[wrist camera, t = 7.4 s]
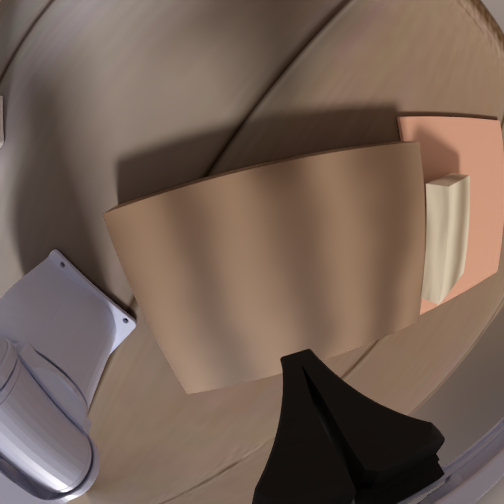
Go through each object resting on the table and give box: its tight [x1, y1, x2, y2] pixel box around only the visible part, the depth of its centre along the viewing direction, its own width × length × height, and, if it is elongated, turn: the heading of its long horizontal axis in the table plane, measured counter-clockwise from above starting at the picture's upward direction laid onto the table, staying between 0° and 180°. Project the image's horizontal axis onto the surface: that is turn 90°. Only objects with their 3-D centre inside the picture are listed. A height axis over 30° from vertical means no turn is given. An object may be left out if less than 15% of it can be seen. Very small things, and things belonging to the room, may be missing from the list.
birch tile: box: [421, 173, 470, 305], centre depth 19 cm, size 7×10×2 cm
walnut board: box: [103, 141, 426, 394], centre depth 20 cm, size 22×16×3 cm
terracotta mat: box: [397, 116, 504, 315], centre depth 22 cm, size 18×20×1 cm
